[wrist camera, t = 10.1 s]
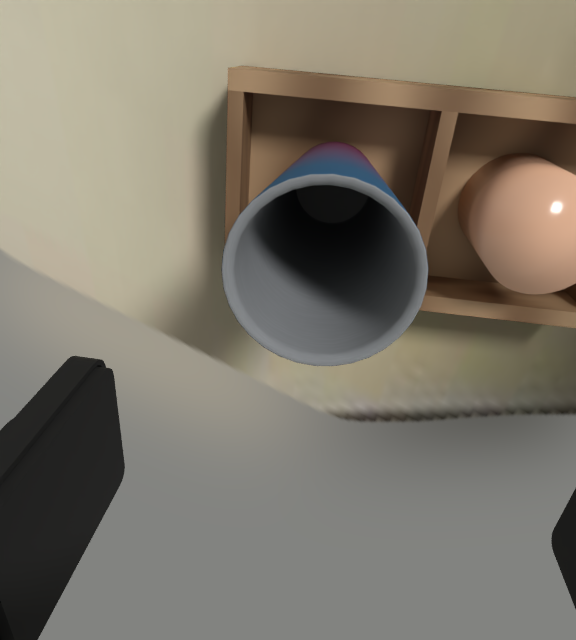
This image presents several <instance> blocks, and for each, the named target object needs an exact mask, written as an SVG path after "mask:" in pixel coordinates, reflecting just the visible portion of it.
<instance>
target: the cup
mask: <svg viewBox="0 0 576 640" xmlns="http://www.w3.org/2000/svg"><path fill="white" fill-rule="evenodd" d="M221 270H222V279H223V288H224V291H225V294H226V297H227V300H228V303H229V306H230V308H231V310H232V311H233V313H234V315H235V317H236V319H237V321H238V322H239V323H240V324H241V326H242V327H243V328H244V329H245V330H246V332H247V333H248V334H249V335H250V336H251V337H252V338H253V339H255V340H256V341H257V342H258V343H259V344H261V345H262V346H263V347H264V348H266V349H268V350H270V351H271V352H273V353H275V354H277V355H278V356H280V357H283V358H286V359H289V360H291V361H294V362H297V363H302V364H308V365H313V366H337V365H344V364H350V363H354V362H357V361H360V360H363V359H366V358H369V357H371V356H373V355H374V354H376V353H378V352H380V351H382V350H384V349H385V348H387V347H388V346H389V345H390V344H392V343H393V342H394V341H395V340H397V339H398V338H399V337H400V336H401V335H402V334H403V332H404V331H405V330H406V329H407V328H408V327H409V325H410V324H411V323H412V321H413V320H414V318H415V316H416V314H417V312H418V311H419V309H420V307H421V305H422V301H423V298H424V295H425V292H426V289H427V279H428V262H427V254H426V248H425V245H424V243H423V240H422V237H421V234H420V231H419V229H418V228H417V226H416V225H415V223H414V221H413V220H412V218H411V217H410V215H409V213H408V212H407V211H406V209H405V208H404V207H403V205H402V204H401V203H400V201H399V200H398V199H397V197H396V196H395V195H394V193H393V192H392V191H391V189H390V188H389V187H388V185H387V184H386V183H385V181H384V180H383V179H382V177H381V176H380V175H379V173H378V172H377V171H376V169H375V168H374V167H373V165H372V164H371V163H370V161H369V160H368V159H367V157H366V156H365V155H364V154H363V153H362V152H361V151H360V150H358V149H357V148H355V147H354V146H352V145H349V144H347V143H343V142H325V143H321V144H319V145H316V146H314V147H312V148H311V149H310V150H308V151H307V152H305V153H304V154H303V155H302V156H301V157H300V158H299V159H298V160H297V161H295V162H294V163H293V164H292V165H291V166H290V167H289V168H288V169H287V170H285V171H284V172H283V173H282V174H281V175H280V176H279V177H278V178H277V179H275V180H274V181H273V182H272V183H271V184H270V185H269V186H268V187H267V188H265V189H264V190H263V191H262V192H261V193H260V194H259V195H258V196H257V197H255V198H254V199H253V200H252V201H251V202H250V203H249V205H248V206H247V207H246V208H245V209H244V210H243V211H242V212H241V214H240V215H239V216H238V218H237V220H236V221H235V223H234V225H233V227H232V228H231V230H230V232H229V234H228V238H227V241H226V244H225V247H224V250H223V259H222V269H221Z"/></svg>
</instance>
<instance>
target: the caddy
mask: <svg viewBox="0 0 576 640" xmlns="http://www.w3.org/2000/svg"><path fill="white" fill-rule="evenodd" d="M325 142H343V143H347V144H349V145H352V146H354V147H355V148H357V149H358V150H360V151H361V152H362V153H363V154H364V155H365V156H366V157H367V159H368V160H369V161H370V163H371V164H372V165H373V167H374V168H375V169H376V171H377V172H378V173H379V175H380V176H381V177H382V179H383V180H384V181H385V183H386V184H387V185H388V187H389V188H390V189H391V191H392V192H393V193H394V195H395V196H396V197H397V199H398V200H399V201H400V203H401V204H402V205H403V207H404V208H405V209H406V211H407V212H408V213H409V215H410V217H411V218H412V220H413V221H414V223H415V225H416V226H417V228H418V229H419V231H420V234H421V237H422V240H423V243H424V245H425V248H426V254H427V262H428V279H427V289H426V292H425V295H424V298H423V301H422V305H421V307H420V309H419V310H422V311H430V312H439V313H448V314H457V315H465V316H474V317H483V318H492V319H500V320H509V321H518V322H527V323H535V324H544V325H553V326H562V327H570V328H576V283H575V284H573V285H571V286H569V287H567V288H565V289H562V290H559V291H556V292H552V293H547V294H536V295H535V294H524V293H519V292H516V291H513V290H511V289H508V288H506V287H505V286H503V285H502V284H500V283H499V282H498V281H497V280H496V279H495V278H494V277H493V276H492V275H491V273H490V272H489V270H488V269H487V267H486V266H485V264H484V263H483V261H482V260H481V258H480V257H479V256H478V254H477V253H476V251H475V250H474V248H473V247H472V245H471V244H470V242H469V241H468V239H467V238H466V236H465V235H464V233H463V232H462V230H461V227H460V224H459V220H458V204H459V199H460V196H461V193H462V191H463V189H464V187H465V185H466V183H467V182H468V180H469V179H470V178H471V177H472V175H473V174H474V173H475V172H476V171H477V170H478V169H480V168H481V167H482V166H483V165H485V164H486V163H488V162H489V161H491V160H493V159H495V158H498V157H500V156H503V155H507V154H512V153H528V154H534V155H537V156H540V157H542V158H544V159H546V160H547V161H549V162H551V163H553V164H555V165H557V166H559V167H561V168H563V169H565V170H567V171H568V172H570V173H572V174H574V175H576V97H566V96H555V95H545V94H534V93H524V92H513V91H503V90H492V89H481V88H471V87H460V86H450V85H439V84H429V83H418V82H408V81H397V80H386V79H376V78H365V77H355V76H344V75H334V74H323V73H313V72H302V71H292V70H281V69H270V68H260V67H249V66H238V67H231V68H228V104H227V155H226V206H225V244H226V241H227V238H228V234H229V232H230V230H231V228H232V227H233V225H234V223H235V221H236V220H237V218H238V216H239V215H240V214H241V212H242V211H243V210H244V209H245V208H246V207H247V206H248V205H249V203H250V202H251V201H252V200H253V199H254V198H255V197H257V196H258V195H259V194H260V193H261V192H262V191H263V190H264V189H265V188H267V187H268V186H269V185H270V184H271V183H272V182H273V181H274V180H275V179H277V178H278V177H279V176H280V175H281V174H282V173H283V172H284V171H285V170H287V169H288V168H289V167H290V166H291V165H292V164H293V163H294V162H295V161H297V160H298V159H299V158H300V157H301V156H302V155H303V154H304V153H305V152H307V151H308V150H310V149H311V148H312V147H314V146H316V145H319V144H321V143H325Z"/></svg>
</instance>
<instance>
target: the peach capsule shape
mask: <svg viewBox="0 0 576 640" xmlns="http://www.w3.org/2000/svg"><path fill="white" fill-rule="evenodd" d="M458 220H459V224H460V227H461V230H462V232H463V233H464V235H465V236H466V238H467V239H468V241H469V242H470V244H471V245H472V247H473V248H474V250H475V251H476V253H477V254H478V256H479V257H480V258H481V260H482V261H483V263H484V264H485V266H486V267H487V269H488V270H489V272H490V273H491V275H492V276H493V277H494V278H495V279H496V280H497V281H498V282H499V283H500V284H502V285H503V286H505V287H506V288H508V289H511V290H513V291H516V292H519V293H524V294H535V295H536V294H547V293H552V292H556V291H559V290H562V289H565V288H567V287H569V286H571V285H573V284H575V283H576V175H574V174H572V173H570V172H568V171H567V170H565V169H563V168H561V167H559V166H557V165H555V164H553V163H551V162H549V161H547V160H546V159H544V158H542V157H540V156H537V155H534V154H528V153H512V154H507V155H503V156H500V157H498V158H495V159H493V160H491V161H489V162H488V163H486V164H485V165H483V166H482V167H481V168H480V169H478V170H477V171H476V172H475V173H474V174H473V175H472V177H471V178H470V179H469V180H468V182H467V183H466V185H465V187H464V189H463V191H462V193H461V196H460V199H459V204H458Z"/></svg>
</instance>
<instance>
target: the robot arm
mask: <svg viewBox="0 0 576 640" xmlns="http://www.w3.org/2000/svg"><path fill="white" fill-rule="evenodd" d="M124 468H125V466H124V457H123V449H122V440H121V432H120V423H119V415H118V407H117V398H116V390H115V381H114V375H113V371H112V369H110V368H106V366H105V363H104V361H103V360H100V359H93V358H85V357H78V356H72V357H70V358H69V359H68V360H67V361H66V362H65V363H64V364H63V365H62V366H61V367H60V368H59V369H58V371H57V372H56V373H55V374H54V375H53V376H52V377H51V378H50V379H49V380H48V382H47V383H46V384H45V385H44V386H43V387H42V388H41V389H40V390H39V391H38V392H37V394H36V395H35V396H34V397H33V398H32V399H31V400H30V401H29V402H28V404H26V406H25V407H24V408H23V409H22V410H21V411H20V412H19V413H18V414H17V415H16V417H15V418H14V419H12V420H11V421H9V422H8V423H7V424H6V425H5V426H4V427H3V428H2V429H1V430H0V640H37V639H38V638H39V636H40V634H41V632H42V630H43V628H44V626H45V625H46V623H47V621H48V619H49V617H50V615H51V613H52V612H53V610H54V608H55V606H56V604H57V602H58V600H59V599H60V597H61V595H62V593H63V591H64V589H65V587H66V585H67V583H68V582H69V580H70V578H71V576H72V574H73V572H74V570H75V568H76V566H77V565H78V563H79V561H80V559H81V557H82V555H83V554H84V552H85V550H86V548H87V546H88V544H89V542H90V540H91V538H92V536H93V535H94V533H95V531H96V529H97V527H98V525H99V523H100V522H101V520H102V518H103V516H104V514H105V512H106V510H107V509H108V507H109V505H110V503H111V501H112V499H113V497H114V495H115V494H116V492H117V490H118V488H119V486H120V484H121V482H122V479H123V475H124ZM552 548H553V552H554V555H555V557H556V560H557V562H558V565H559V567H560V570H561V573H562V575H563V578H564V580H565V583H566V585H567V588H568V590H569V593H570V595H571V598H572V601H573V603H574V606H575V608H576V489H575V491H574V492H573V494H572V496H571V498H570V500H569V502H568V504H567V506H566V508H565V509H564V511H563V513H562V515H561V517H560V519H559V521H558V522H557V524H556V526H555V528H554V530H553V533H552Z"/></svg>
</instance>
